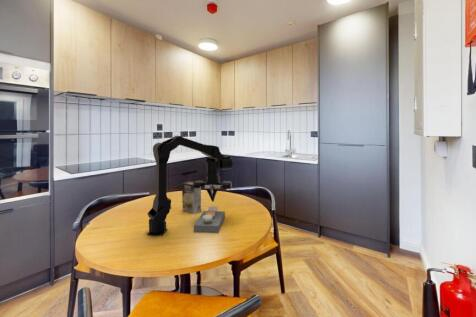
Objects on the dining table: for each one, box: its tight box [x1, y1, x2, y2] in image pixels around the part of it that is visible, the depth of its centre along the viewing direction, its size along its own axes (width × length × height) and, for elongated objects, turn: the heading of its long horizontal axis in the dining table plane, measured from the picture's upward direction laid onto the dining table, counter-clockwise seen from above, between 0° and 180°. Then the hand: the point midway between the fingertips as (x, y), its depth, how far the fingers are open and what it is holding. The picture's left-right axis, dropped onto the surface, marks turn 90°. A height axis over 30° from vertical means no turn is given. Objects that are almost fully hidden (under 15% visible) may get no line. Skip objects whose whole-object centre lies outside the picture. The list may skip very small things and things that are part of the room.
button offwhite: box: [208, 205, 218, 212], centre depth 127 cm, size 4×4×2 cm
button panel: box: [193, 210, 226, 234], centre depth 121 cm, size 11×20×3 cm, turn 175°
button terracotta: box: [206, 212, 215, 218], centre depth 121 cm, size 4×4×2 cm
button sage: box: [203, 215, 212, 222], centre depth 115 cm, size 4×4×2 cm
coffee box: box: [181, 180, 202, 214], centre depth 141 cm, size 9×6×16 cm
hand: (212, 201), depth 127 cm, fingers closed
